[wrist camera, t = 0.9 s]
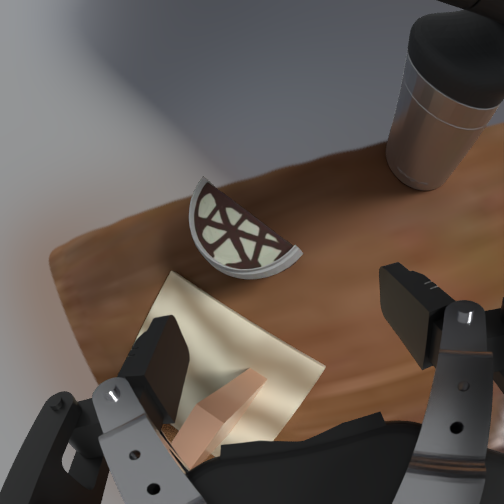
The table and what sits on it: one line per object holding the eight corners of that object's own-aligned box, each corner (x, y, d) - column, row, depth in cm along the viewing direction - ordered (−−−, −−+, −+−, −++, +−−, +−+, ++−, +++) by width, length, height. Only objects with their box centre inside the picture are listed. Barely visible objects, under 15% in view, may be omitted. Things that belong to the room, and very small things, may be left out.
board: (175, 272, 38) (171, 270, 36) (325, 365, 31) (325, 367, 29) (123, 376, 37) (117, 377, 36) (247, 470, 30) (244, 474, 29)
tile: (248, 366, 32) (193, 402, 18) (267, 378, 31) (224, 423, 18) (212, 421, 31) (150, 470, 18) (229, 433, 31) (174, 489, 17)
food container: (202, 243, 37) (160, 222, 28) (232, 205, 37) (199, 173, 28) (275, 307, 33) (253, 307, 24) (309, 265, 33) (301, 248, 24)
